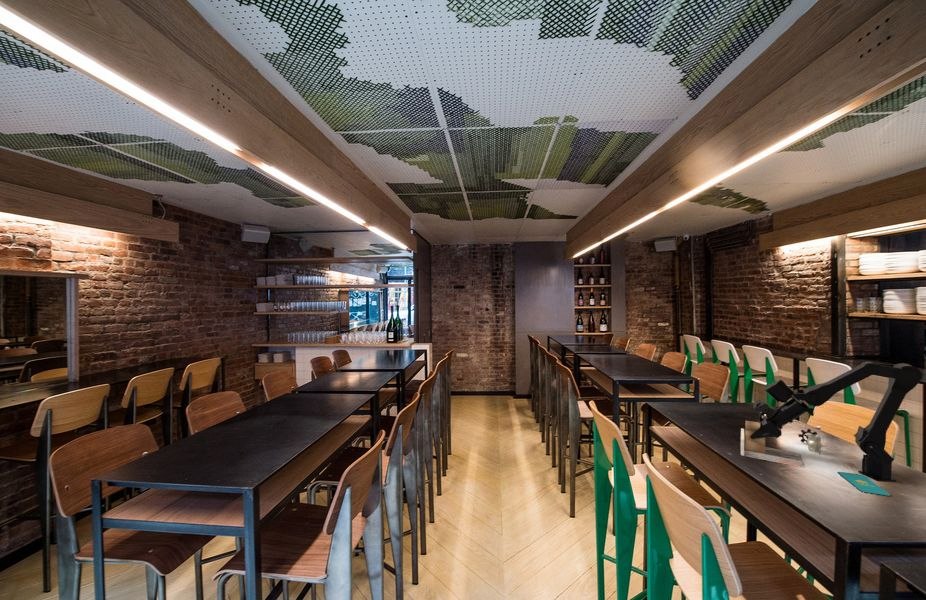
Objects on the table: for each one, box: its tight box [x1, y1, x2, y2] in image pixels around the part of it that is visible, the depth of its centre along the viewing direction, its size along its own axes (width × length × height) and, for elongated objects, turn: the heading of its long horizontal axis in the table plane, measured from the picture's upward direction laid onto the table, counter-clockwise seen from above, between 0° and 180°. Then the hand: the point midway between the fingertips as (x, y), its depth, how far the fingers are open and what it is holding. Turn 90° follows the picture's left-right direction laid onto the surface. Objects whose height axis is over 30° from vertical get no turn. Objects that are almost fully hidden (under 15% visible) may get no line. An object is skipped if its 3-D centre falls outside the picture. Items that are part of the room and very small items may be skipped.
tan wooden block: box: [744, 420, 766, 454], centre depth 151 cm, size 6×6×10 cm
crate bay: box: [740, 428, 806, 468], centre depth 149 cm, size 18×15×7 cm
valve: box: [797, 428, 823, 455], centre depth 156 cm, size 7×7×12 cm
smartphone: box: [837, 471, 892, 498], centre depth 127 cm, size 7×1×15 cm
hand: (750, 435), depth 152 cm, fingers closed on tan wooden block, 6 cm apart
